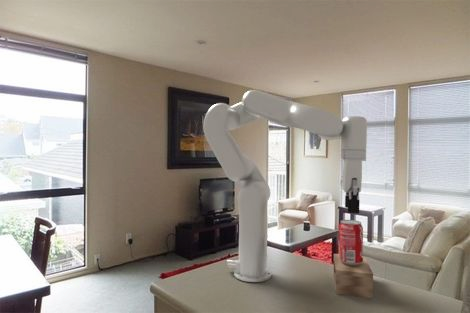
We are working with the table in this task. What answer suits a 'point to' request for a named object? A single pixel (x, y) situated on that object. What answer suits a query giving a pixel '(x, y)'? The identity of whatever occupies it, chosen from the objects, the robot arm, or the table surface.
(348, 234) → the soda can
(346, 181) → the robot arm
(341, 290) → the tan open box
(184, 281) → the table surface
